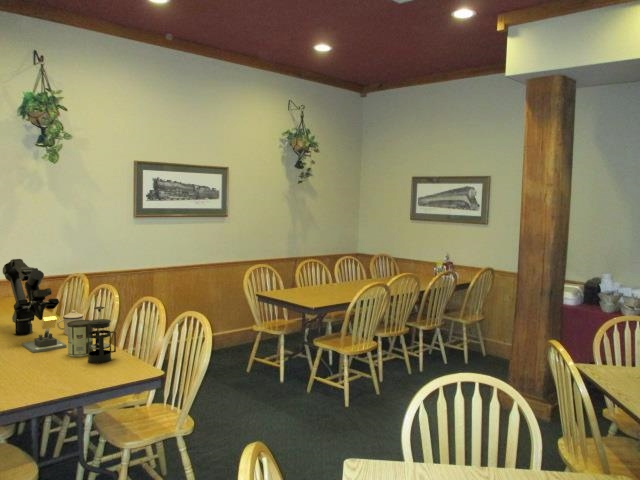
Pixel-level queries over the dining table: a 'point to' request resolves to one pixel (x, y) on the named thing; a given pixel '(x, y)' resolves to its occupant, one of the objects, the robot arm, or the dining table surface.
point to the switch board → (31, 344)
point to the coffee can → (79, 338)
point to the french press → (100, 341)
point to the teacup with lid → (69, 318)
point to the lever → (48, 324)
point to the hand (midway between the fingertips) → (41, 319)
